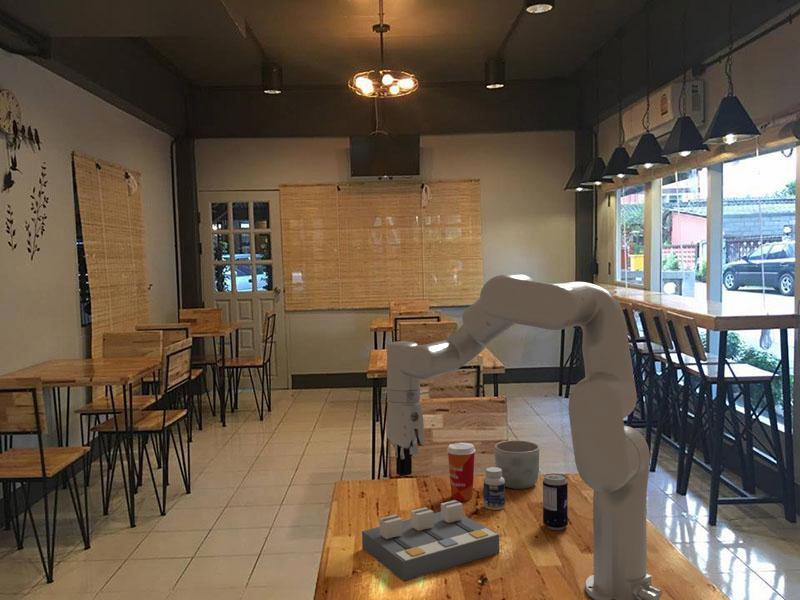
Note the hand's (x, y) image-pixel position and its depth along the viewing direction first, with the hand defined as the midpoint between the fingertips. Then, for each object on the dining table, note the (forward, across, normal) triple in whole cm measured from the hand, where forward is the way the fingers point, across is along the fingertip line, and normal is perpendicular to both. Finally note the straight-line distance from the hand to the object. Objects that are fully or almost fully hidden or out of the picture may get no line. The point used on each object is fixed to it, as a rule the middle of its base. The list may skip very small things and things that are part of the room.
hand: (404, 474), depth 155 cm
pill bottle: (+14, +2, -28) cm, 32 cm away
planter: (+14, +12, -44) cm, 48 cm away
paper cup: (+15, +12, -25) cm, 32 cm away
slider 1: (+10, -7, +8) cm, 15 cm away
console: (+14, -10, 0) cm, 18 cm away
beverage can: (+14, -16, -32) cm, 38 cm away
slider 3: (+10, -7, -8) cm, 15 cm away
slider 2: (+10, -7, 0) cm, 13 cm away
